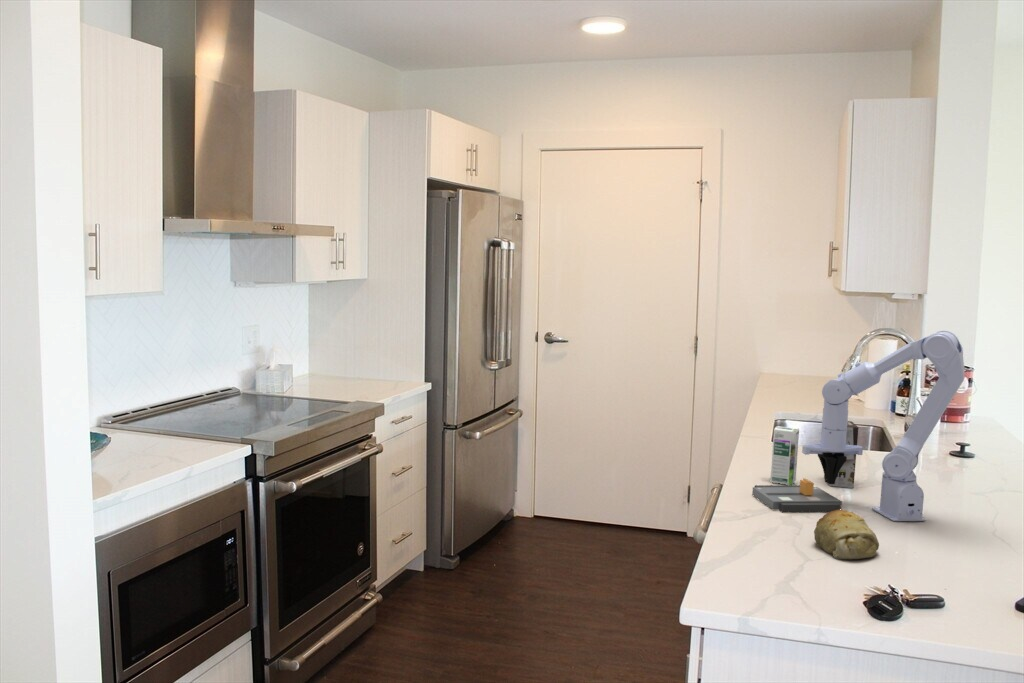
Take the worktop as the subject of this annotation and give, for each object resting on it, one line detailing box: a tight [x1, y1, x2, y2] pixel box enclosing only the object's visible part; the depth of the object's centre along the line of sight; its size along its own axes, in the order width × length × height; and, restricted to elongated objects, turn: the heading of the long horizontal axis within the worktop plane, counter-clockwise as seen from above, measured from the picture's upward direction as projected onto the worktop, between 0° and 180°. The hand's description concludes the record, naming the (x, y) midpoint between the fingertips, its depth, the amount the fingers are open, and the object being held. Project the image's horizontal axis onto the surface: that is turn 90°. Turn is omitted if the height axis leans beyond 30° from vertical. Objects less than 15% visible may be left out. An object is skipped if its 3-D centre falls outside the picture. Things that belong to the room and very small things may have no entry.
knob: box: [799, 477, 815, 495], centre depth 207 cm, size 3×2×3 cm, turn 7°
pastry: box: [813, 509, 880, 561], centre depth 174 cm, size 14×12×8 cm
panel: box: [751, 486, 843, 511], centre depth 207 cm, size 12×17×2 cm
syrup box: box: [769, 425, 800, 485], centre depth 225 cm, size 6×6×14 cm
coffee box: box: [823, 420, 860, 489], centre depth 226 cm, size 9×6×16 cm
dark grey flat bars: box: [754, 484, 840, 513], centre depth 207 cm, size 16×14×2 cm
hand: (829, 483), depth 208 cm, fingers closed
